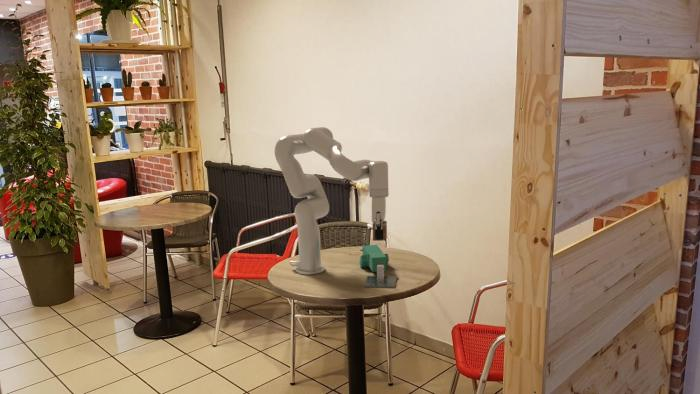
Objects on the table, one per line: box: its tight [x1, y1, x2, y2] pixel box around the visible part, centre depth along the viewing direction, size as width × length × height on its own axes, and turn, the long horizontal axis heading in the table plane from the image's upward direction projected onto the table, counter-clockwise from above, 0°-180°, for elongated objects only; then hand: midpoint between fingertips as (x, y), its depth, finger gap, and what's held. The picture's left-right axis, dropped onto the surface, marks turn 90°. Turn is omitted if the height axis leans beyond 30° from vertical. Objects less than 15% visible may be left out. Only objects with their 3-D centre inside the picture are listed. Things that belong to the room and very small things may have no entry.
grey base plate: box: [364, 265, 397, 289], centre depth 212 cm, size 12×12×7 cm
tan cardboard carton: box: [372, 220, 388, 242], centre depth 209 cm, size 5×5×7 cm
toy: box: [358, 240, 390, 272], centre depth 234 cm, size 12×10×30 cm
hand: (379, 236), depth 209 cm, fingers closed on tan cardboard carton, 5 cm apart
